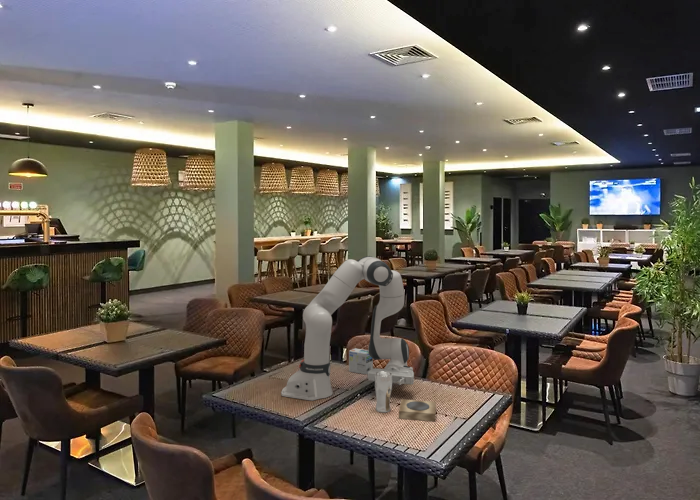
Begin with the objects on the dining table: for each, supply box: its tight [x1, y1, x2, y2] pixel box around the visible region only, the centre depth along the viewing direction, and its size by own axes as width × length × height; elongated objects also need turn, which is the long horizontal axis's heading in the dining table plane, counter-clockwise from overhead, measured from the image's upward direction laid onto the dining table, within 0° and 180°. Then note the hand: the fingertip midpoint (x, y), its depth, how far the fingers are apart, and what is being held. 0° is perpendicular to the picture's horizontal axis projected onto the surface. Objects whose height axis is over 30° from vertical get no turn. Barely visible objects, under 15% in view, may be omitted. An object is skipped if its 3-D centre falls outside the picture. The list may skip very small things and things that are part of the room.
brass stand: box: [398, 398, 437, 422], centre depth 204 cm, size 14×13×3 cm
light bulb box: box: [348, 347, 374, 375], centre depth 258 cm, size 11×7×11 cm, turn 58°
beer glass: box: [374, 371, 393, 414], centre depth 207 cm, size 7×7×15 cm
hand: (387, 381), depth 217 cm, fingers open, 8 cm apart
